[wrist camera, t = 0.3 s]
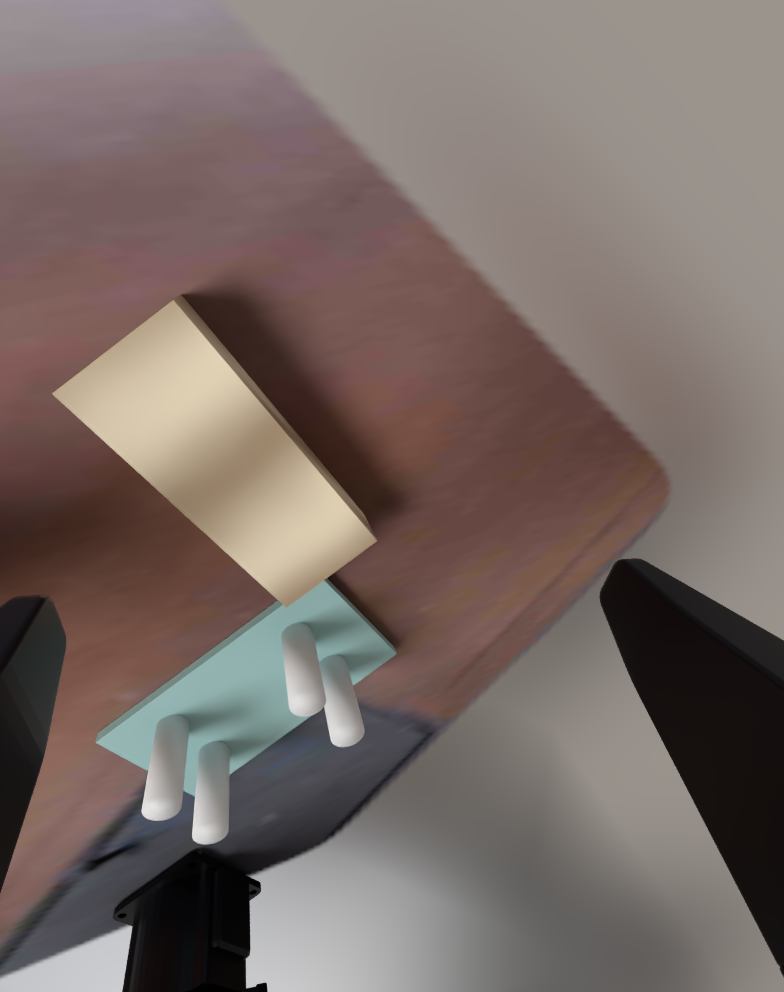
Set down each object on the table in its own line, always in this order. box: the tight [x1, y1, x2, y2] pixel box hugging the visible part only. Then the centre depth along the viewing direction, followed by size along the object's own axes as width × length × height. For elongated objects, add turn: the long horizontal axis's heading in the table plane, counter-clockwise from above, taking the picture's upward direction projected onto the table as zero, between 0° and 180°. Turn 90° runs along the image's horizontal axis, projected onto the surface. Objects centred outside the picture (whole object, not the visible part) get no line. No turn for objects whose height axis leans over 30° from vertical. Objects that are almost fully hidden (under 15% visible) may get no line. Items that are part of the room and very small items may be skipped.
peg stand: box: [95, 578, 397, 844], centre depth 25 cm, size 14×7×5 cm, turn 124°
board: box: [52, 295, 377, 608], centre depth 21 cm, size 12×5×3 cm, turn 34°
